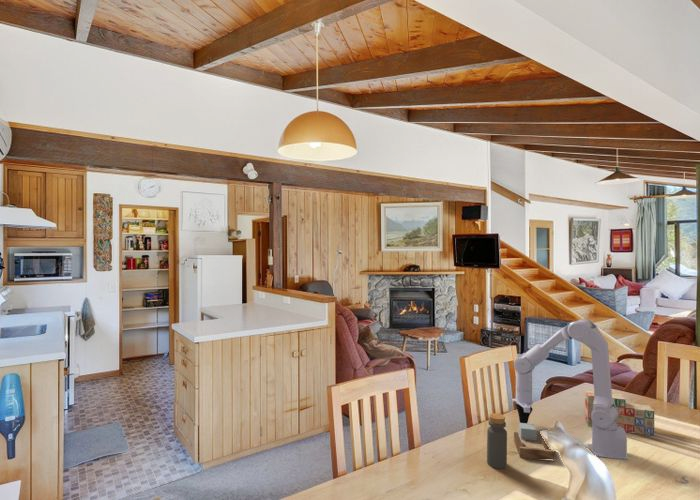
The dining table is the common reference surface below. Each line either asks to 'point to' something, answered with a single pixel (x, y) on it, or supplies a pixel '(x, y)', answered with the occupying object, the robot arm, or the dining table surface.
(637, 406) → the stack of blocks
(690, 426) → the dining table surface
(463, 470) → the dining table surface
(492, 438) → the bottle
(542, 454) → the holder
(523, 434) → the block
